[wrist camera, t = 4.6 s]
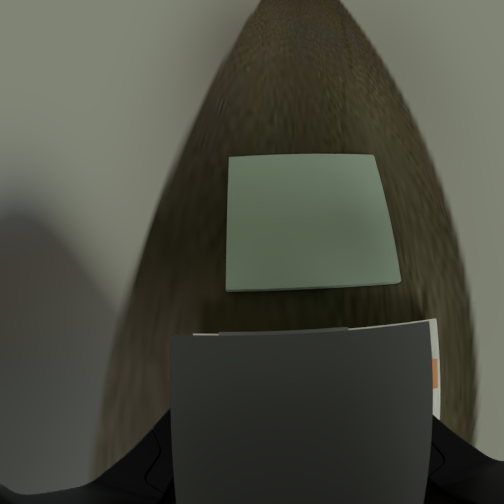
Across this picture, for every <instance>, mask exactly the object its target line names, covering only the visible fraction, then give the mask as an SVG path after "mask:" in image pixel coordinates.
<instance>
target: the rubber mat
mask: <svg viewBox="0 0 504 504" xmlns="http://www.w3.org/2000/svg"><path fill="white" fill-rule="evenodd" d="M400 282H401V277H400V270H399V264H398V258H397V252H396V247H395V241H394V236H393V231H392V226H391V221H390V217H389V212H388V208H387V204H386V199H385V195H384V191H383V187H382V183H381V180H380V176H379V172H378V169H377V165H376V161H375V158H374V155H363V154H279V155H256V156H239V157H229V171H228V202H227V243H226V291H227V292H248V291H278V290H302V289H323V288H341V287H357V286H372V285H386V284H398V283H400Z"/></svg>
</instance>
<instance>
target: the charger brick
mask: <svg viewBox="0 0 504 504" xmlns="http://www.w3.org/2000/svg"><path fill="white" fill-rule="evenodd" d="M170 408H171V438H172V457H173V472H174V484H175V496H176V504H423V502H424V497H425V491H426V484H427V477H428V469H429V461H430V450H431V438H432V418H433V370H432V350H431V336H430V325H429V321H425V322H418V323H411V324H403V325H395V326H386V327H377V328H368V329H357V330H346V331H333V332H318V333H301V334H279V335H232V336H216V335H171V345H170Z"/></svg>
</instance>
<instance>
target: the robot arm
mask: <svg viewBox="0 0 504 504" xmlns="http://www.w3.org/2000/svg"><path fill="white" fill-rule="evenodd" d="M0 504H176V496H175V484H174V472H173V457H172V438H171V408H170V409H169V410H168V411H167V412H166V413H165V414H164V415H163V416H162V418H161V419H160V420H159V421H158V422H157V423H156V424H155V425H154V427H153V430H152V429H151V430H150V431H149V432H148V433H147V434H146V435H145V436H144V437H143V438H142V440H141V441H140V442H139V443H138V444H137V445H136V446H135V447H134V448H133V449H131V450H130V451H129V452H128V453H127V454H126V455H125V456H124V457H122V458H121V459H120V460H119V461H118V462H116V463H115V464H114V465H113V466H111V467H110V468H109V469H108V470H106V471H105V472H104V473H103V474H101V475H100V476H99V477H98V478H96V479H95V480H93V481H92V482H90V483H88V484H86V485H83V486H80V487H76V488H71V489H66V490H59V491H54V492H47V493H40V494H31V495H26V494H19V493H15V492H13V491H11V490H10V489H8V488H7V487H5V486H4V485H2V484H0ZM423 504H504V461H498V460H495V459H492V458H490V457H488V456H486V455H484V454H483V453H482V452H480V451H479V450H478V449H476V448H475V447H473V446H472V445H470V444H469V443H468V442H466V441H465V440H463V439H462V438H461V437H459V436H458V435H457V434H455V433H454V432H453V431H451V430H450V429H449V428H448V427H447V426H446V425H444V424H443V423H442V422H441V421H440V420H439V419H438V418H436V417H435V416H434V415H433V418H432V438H431V450H430V461H429V469H428V477H427V484H426V491H425V497H424V502H423Z"/></svg>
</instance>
